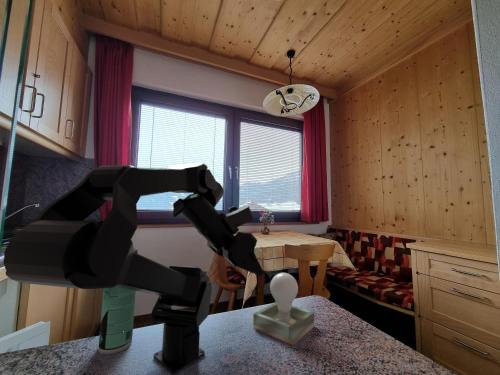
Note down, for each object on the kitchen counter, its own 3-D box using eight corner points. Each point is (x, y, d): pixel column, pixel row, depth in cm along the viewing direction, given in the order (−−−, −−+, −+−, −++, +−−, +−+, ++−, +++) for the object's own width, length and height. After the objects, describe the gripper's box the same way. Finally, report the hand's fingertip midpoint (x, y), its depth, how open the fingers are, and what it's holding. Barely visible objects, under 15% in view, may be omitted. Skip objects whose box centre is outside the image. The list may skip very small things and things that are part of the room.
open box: (253, 328, 49) (253, 313, 49) (277, 313, 57) (277, 301, 57) (293, 345, 43) (293, 328, 43) (314, 326, 50) (314, 312, 51)
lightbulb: (278, 333, 46) (278, 277, 47) (265, 319, 51) (265, 270, 53) (304, 328, 48) (303, 275, 49) (289, 315, 54) (288, 269, 55)
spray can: (132, 334, 45) (139, 236, 48) (131, 349, 40) (139, 238, 43) (100, 341, 43) (109, 237, 45) (95, 357, 38) (106, 239, 40)
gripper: (247, 189, 41) (298, 247, 44) (221, 196, 58) (258, 238, 61) (203, 233, 37) (262, 294, 40) (189, 227, 54) (230, 270, 57)
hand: (253, 269), depth 49 cm, fingers open, 9 cm apart
